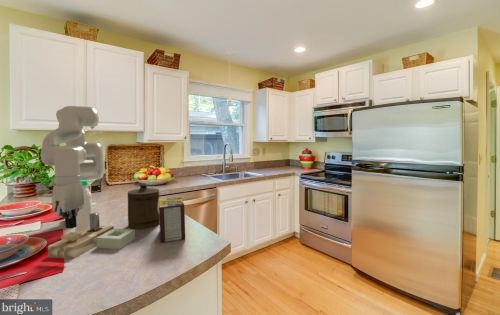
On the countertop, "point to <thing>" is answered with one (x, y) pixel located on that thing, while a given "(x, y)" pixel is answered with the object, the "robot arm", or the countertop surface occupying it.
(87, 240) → the socket block
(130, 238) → the pale green square block
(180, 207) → the protein box
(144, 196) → the wooden container
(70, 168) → the robot arm
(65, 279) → the countertop surface
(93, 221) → the silver cylinder
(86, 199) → the water bottle
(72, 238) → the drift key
